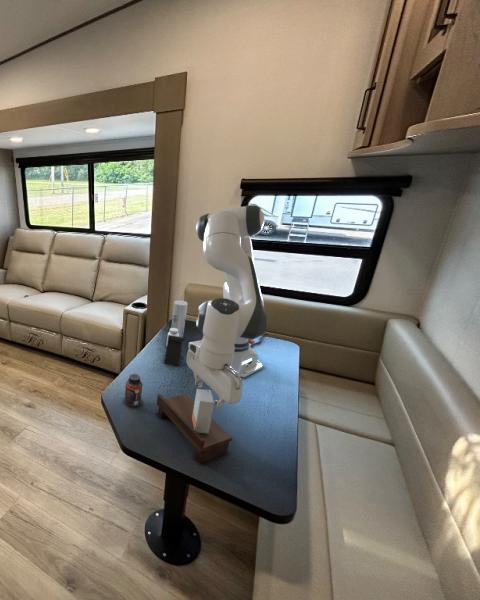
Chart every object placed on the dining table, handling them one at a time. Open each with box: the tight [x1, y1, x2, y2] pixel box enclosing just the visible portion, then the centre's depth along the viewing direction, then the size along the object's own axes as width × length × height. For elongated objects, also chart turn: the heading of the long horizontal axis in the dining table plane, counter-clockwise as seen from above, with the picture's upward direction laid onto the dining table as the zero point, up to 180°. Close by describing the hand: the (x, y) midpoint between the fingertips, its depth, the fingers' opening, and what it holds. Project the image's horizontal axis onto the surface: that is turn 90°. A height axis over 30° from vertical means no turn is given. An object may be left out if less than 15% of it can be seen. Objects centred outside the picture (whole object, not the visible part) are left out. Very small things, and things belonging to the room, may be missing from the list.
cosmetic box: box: [192, 388, 215, 434], centre depth 97 cm, size 6×4×12 cm
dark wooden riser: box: [156, 393, 233, 464], centre depth 103 cm, size 12×22×9 cm, turn 21°
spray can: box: [170, 299, 189, 339], centre depth 162 cm, size 6×6×20 cm
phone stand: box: [163, 335, 184, 367], centre depth 143 cm, size 9×6×12 cm, turn 156°
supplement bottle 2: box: [165, 327, 179, 347], centre depth 155 cm, size 5×5×10 cm
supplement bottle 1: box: [124, 373, 143, 408], centre depth 116 cm, size 6×6×11 cm
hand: (208, 395), depth 94 cm, fingers open, 8 cm apart
